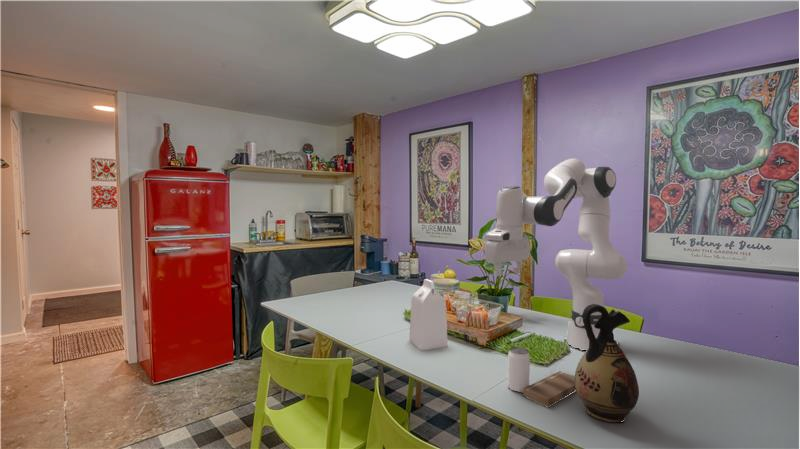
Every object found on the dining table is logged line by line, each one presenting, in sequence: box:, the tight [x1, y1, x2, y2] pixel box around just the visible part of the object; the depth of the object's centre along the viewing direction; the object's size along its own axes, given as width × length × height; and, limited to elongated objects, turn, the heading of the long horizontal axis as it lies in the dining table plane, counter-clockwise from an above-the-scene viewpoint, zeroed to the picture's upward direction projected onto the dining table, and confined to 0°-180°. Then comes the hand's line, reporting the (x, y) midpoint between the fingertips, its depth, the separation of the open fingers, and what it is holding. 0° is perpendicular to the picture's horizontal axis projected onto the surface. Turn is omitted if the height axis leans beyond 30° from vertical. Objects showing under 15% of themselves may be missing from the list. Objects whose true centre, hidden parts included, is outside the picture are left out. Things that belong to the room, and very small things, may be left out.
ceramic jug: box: [574, 304, 640, 423], centre depth 103 cm, size 17×15×30 cm
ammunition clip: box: [463, 312, 490, 344], centre depth 155 cm, size 11×2×12 cm, turn 55°
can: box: [506, 346, 531, 393], centre depth 118 cm, size 6×6×12 cm
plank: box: [522, 370, 576, 408], centre depth 116 cm, size 20×8×2 cm, turn 127°
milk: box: [408, 278, 448, 351], centre depth 154 cm, size 12×12×26 cm
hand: (508, 274), depth 130 cm, fingers open, 8 cm apart
